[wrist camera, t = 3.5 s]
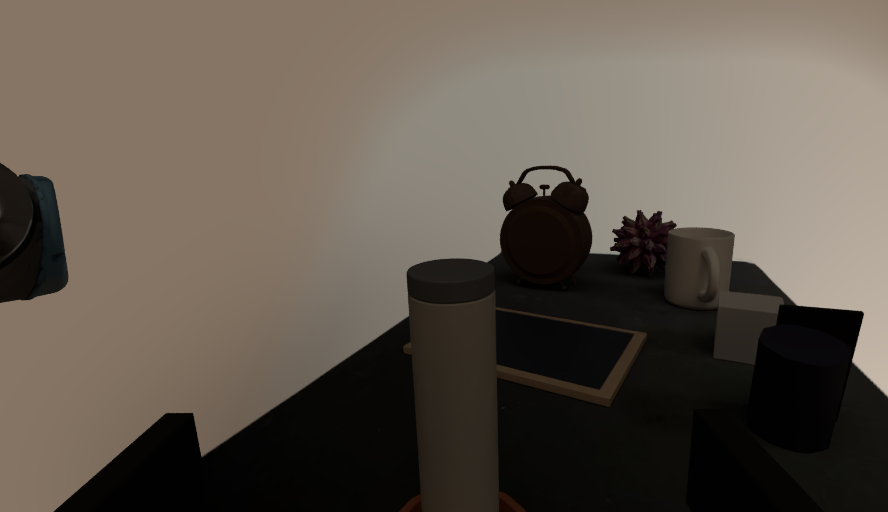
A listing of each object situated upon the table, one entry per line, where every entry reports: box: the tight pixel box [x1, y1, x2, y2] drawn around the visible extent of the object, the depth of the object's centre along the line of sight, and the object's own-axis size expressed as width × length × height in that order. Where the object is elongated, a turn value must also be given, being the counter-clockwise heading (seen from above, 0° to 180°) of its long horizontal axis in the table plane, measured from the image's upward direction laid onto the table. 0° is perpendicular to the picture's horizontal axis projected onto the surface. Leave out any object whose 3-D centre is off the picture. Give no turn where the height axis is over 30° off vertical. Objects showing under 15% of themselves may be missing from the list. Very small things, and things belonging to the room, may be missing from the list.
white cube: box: [713, 291, 784, 365], centre depth 51 cm, size 6×6×6 cm
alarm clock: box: [500, 166, 592, 290], centre depth 77 cm, size 14×7×20 cm, turn 57°
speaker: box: [746, 304, 864, 453], centre depth 37 cm, size 8×6×10 cm
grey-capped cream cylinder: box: [407, 259, 499, 512], centre depth 23 cm, size 4×4×18 cm
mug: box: [664, 228, 735, 310], centre depth 65 cm, size 12×8×10 cm
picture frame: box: [403, 307, 647, 407], centre depth 56 cm, size 24×17×1 cm
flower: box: [610, 210, 676, 276], centre depth 82 cm, size 12×12×12 cm
